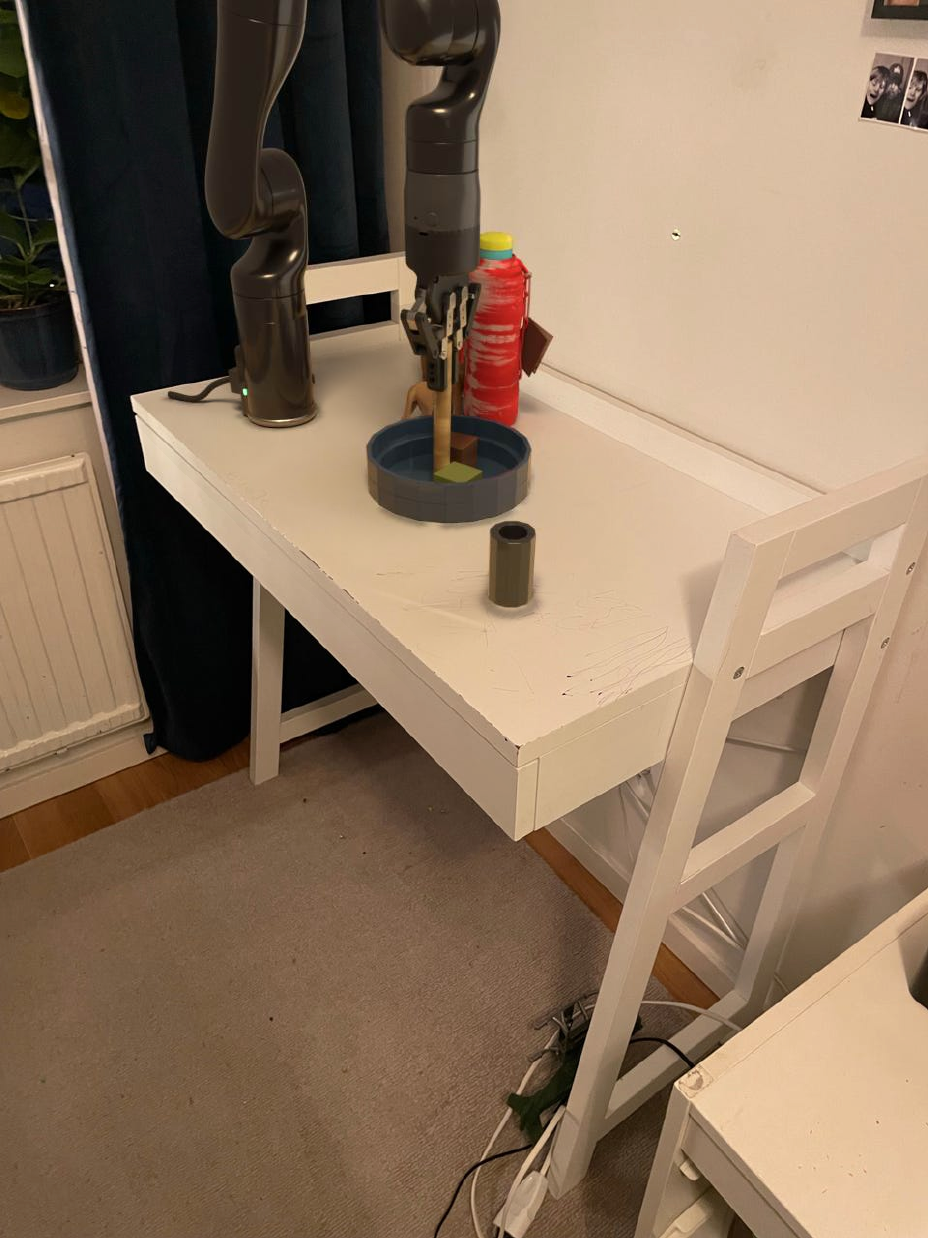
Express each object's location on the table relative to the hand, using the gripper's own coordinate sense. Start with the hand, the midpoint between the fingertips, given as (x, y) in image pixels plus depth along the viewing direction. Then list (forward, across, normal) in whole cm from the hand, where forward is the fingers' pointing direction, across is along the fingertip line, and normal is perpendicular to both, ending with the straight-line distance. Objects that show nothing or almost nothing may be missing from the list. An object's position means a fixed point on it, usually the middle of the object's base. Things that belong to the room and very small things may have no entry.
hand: (442, 385), depth 102 cm
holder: (+14, +15, +16) cm, 26 cm away
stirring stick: (+12, 0, 0) cm, 12 cm away
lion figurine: (+14, -18, -12) cm, 26 cm away
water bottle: (+14, -23, -4) cm, 27 cm away
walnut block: (+13, -6, -2) cm, 15 cm away
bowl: (+14, -3, -1) cm, 14 cm away
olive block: (+13, +1, +3) cm, 14 cm away
